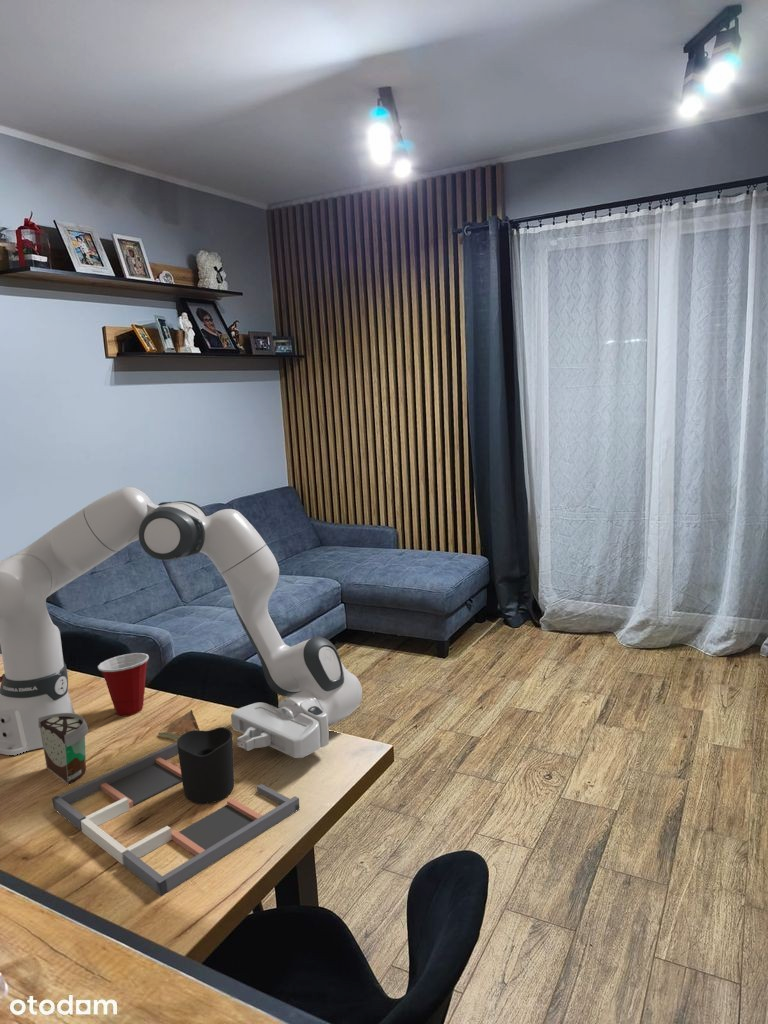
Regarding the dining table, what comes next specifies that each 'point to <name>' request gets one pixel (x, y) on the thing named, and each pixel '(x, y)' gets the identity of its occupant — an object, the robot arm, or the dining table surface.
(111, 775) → the box
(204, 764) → the pen holder
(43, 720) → the food container
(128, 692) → the plastic cup
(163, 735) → the shard
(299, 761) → the dining table surface
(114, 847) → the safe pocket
